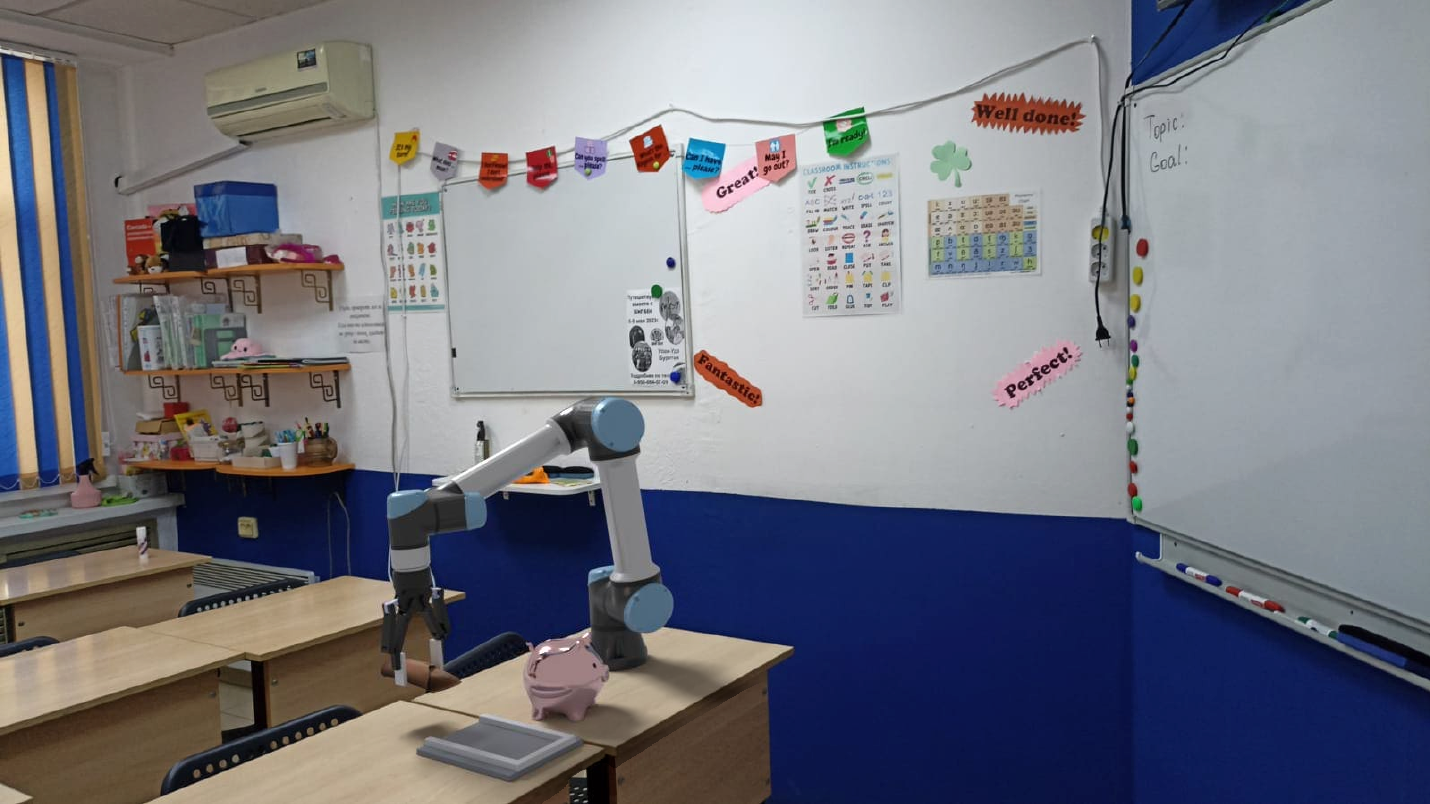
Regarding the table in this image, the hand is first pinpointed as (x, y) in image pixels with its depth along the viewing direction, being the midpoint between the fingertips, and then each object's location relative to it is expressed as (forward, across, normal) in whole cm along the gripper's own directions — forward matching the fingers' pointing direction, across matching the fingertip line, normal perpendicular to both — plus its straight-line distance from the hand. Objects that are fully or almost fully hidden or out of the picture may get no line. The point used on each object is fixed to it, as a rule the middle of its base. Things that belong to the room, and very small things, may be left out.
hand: (419, 677), depth 199 cm
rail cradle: (+10, 0, +23) cm, 25 cm away
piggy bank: (+11, -20, +21) cm, 31 cm away
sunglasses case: (+1, 0, 0) cm, 1 cm away
